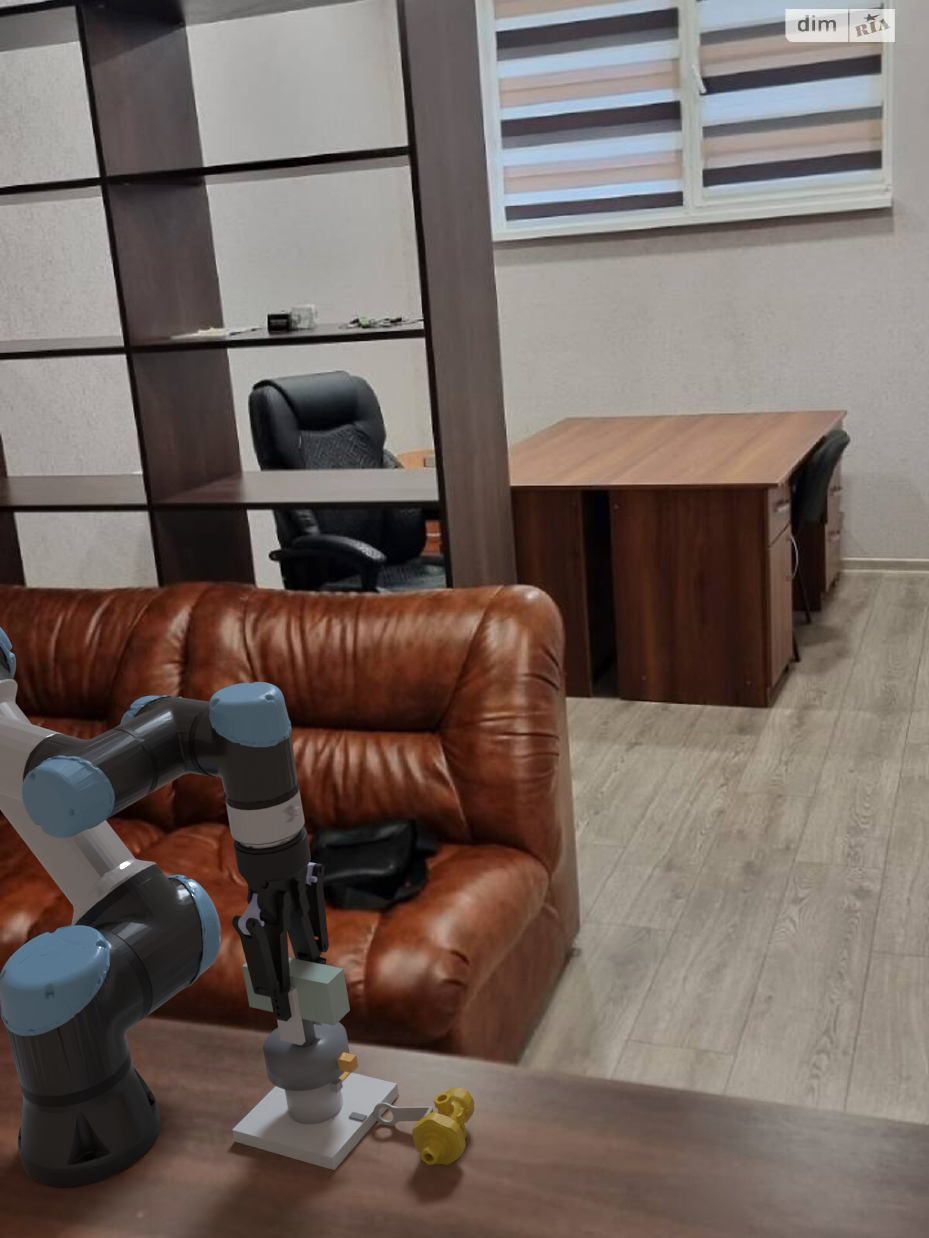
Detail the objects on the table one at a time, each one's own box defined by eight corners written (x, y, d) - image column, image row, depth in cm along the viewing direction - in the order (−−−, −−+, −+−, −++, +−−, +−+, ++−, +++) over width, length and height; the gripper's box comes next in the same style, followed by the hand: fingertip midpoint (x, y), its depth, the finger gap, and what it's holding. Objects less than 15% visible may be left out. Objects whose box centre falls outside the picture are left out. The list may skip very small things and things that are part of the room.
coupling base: (234, 1141, 147) (224, 1089, 145) (303, 1071, 157) (294, 1022, 155) (334, 1170, 140) (325, 1116, 138) (398, 1094, 151) (391, 1044, 149)
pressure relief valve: (491, 1116, 145) (458, 1181, 136) (392, 1118, 150) (354, 1180, 141) (477, 1072, 144) (443, 1134, 135) (378, 1075, 149) (339, 1135, 140)
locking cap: (243, 1078, 146) (224, 980, 142) (291, 1031, 153) (275, 937, 150) (332, 1101, 140) (315, 1000, 137) (378, 1051, 148) (363, 954, 144)
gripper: (251, 873, 130) (288, 1082, 137) (343, 803, 144) (372, 996, 150) (190, 863, 134) (229, 1067, 141) (285, 795, 147) (316, 985, 154)
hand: (303, 1030), depth 146 cm, fingers closed on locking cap, 3 cm apart
